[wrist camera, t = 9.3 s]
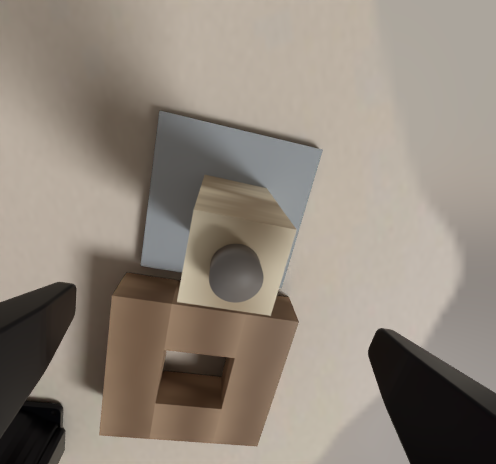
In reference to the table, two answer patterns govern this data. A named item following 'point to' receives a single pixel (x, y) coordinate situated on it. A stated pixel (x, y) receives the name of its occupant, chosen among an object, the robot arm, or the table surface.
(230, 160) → the mat
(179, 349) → the socket block
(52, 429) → the robot arm
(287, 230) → the plug
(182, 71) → the table surface
